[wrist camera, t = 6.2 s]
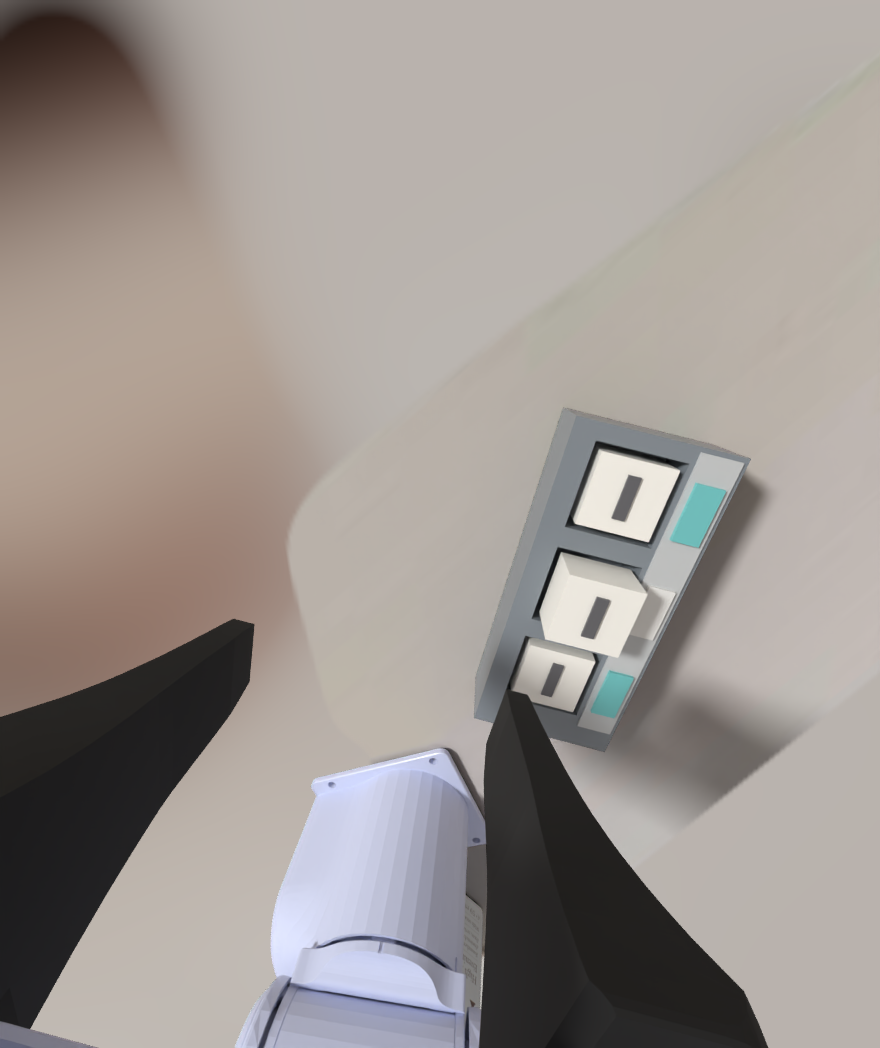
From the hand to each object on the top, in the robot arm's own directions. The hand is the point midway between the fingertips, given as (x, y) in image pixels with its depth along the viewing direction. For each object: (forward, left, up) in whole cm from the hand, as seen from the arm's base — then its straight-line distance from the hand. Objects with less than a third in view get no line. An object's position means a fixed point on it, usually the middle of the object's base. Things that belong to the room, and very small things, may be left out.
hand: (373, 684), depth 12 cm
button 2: (+9, 0, -9) cm, 13 cm away
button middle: (+6, -4, -8) cm, 11 cm away
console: (+7, -4, -10) cm, 13 cm away
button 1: (+4, -7, -9) cm, 12 cm away
